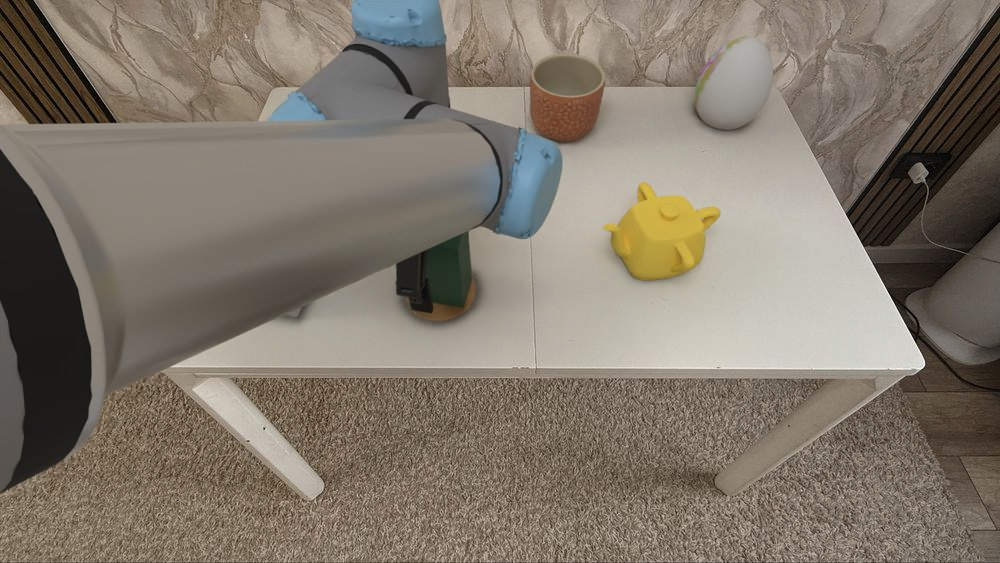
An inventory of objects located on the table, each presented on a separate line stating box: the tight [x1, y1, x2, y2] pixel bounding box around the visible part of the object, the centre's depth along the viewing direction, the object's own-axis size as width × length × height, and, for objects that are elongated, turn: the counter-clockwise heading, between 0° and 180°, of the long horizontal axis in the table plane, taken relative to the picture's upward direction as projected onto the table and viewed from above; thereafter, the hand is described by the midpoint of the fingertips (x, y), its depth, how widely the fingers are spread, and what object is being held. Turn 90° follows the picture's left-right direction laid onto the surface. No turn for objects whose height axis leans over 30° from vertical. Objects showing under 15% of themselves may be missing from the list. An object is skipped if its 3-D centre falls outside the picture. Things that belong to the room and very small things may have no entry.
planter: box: [529, 52, 606, 142], centre depth 96 cm, size 12×12×11 cm
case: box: [408, 231, 473, 308], centre depth 74 cm, size 5×8×13 cm, turn 79°
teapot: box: [602, 181, 722, 281], centre depth 79 cm, size 14×13×10 cm
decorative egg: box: [694, 36, 774, 131], centre depth 96 cm, size 12×12×15 cm
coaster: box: [404, 276, 477, 322], centre depth 79 cm, size 10×10×1 cm
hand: (436, 268), depth 75 cm, fingers open, 13 cm apart
